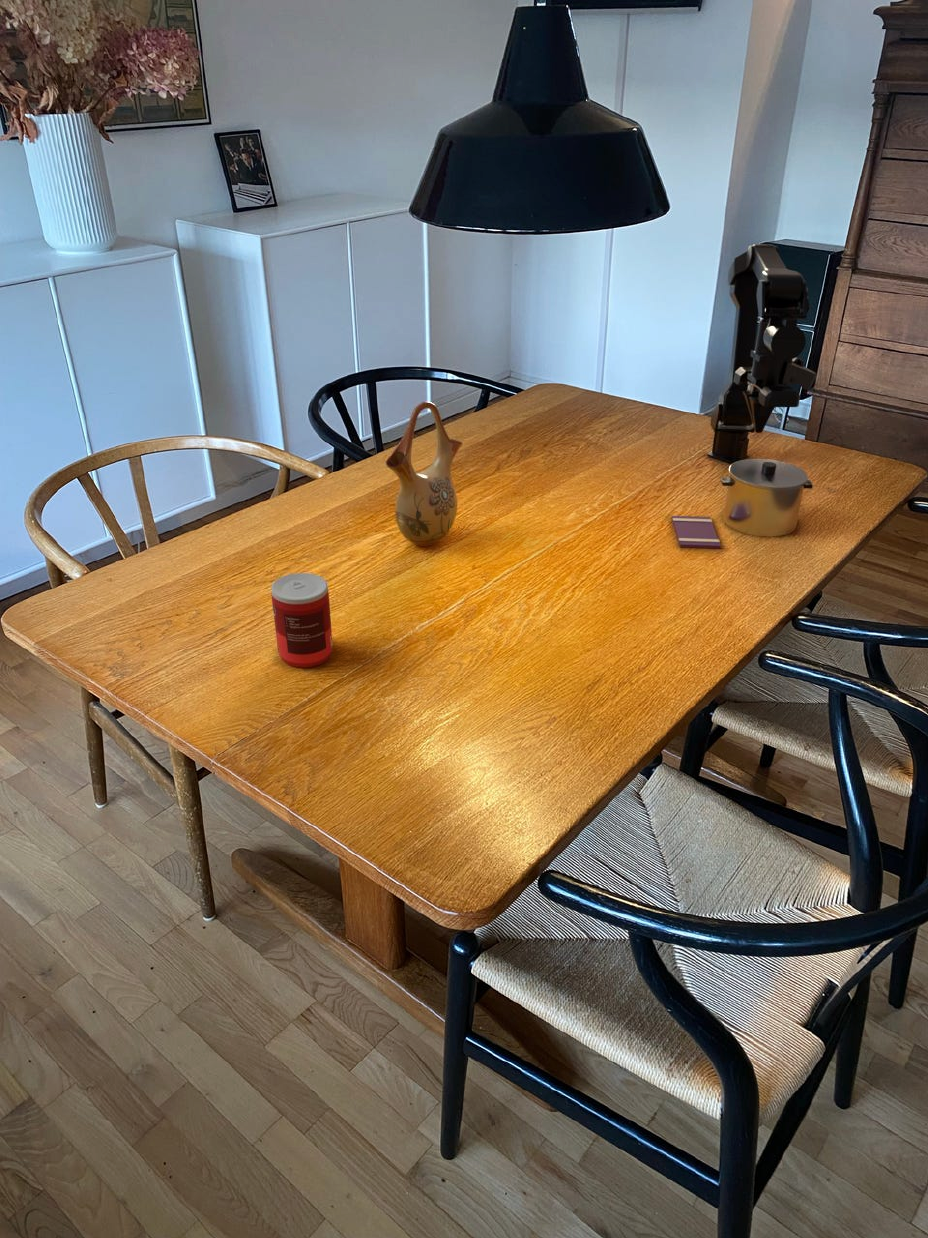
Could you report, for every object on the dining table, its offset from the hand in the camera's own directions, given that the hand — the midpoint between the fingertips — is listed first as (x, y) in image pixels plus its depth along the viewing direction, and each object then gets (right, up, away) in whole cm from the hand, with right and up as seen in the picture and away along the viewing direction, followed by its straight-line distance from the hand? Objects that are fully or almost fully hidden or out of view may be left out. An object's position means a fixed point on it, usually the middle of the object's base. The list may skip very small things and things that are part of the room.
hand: (758, 432), depth 174 cm
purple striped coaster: (-14, -20, -8) cm, 25 cm away
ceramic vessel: (-62, -21, -11) cm, 66 cm away
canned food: (-78, -40, -42) cm, 97 cm away
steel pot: (-1, -17, -3) cm, 17 cm away
